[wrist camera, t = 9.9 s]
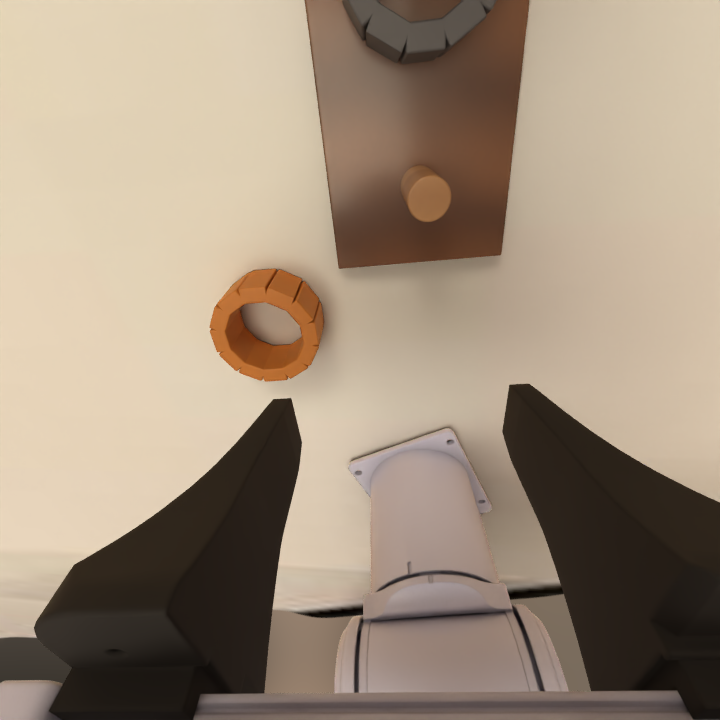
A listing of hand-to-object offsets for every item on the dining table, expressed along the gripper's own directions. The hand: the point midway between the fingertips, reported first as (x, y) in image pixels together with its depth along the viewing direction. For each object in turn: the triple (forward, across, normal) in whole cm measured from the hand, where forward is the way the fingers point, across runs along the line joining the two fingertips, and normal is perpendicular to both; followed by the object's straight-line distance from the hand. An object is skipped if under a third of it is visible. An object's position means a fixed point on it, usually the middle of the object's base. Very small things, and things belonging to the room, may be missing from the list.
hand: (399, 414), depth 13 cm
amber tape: (+9, +6, 0) cm, 11 cm away
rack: (+9, -2, -9) cm, 13 cm away
